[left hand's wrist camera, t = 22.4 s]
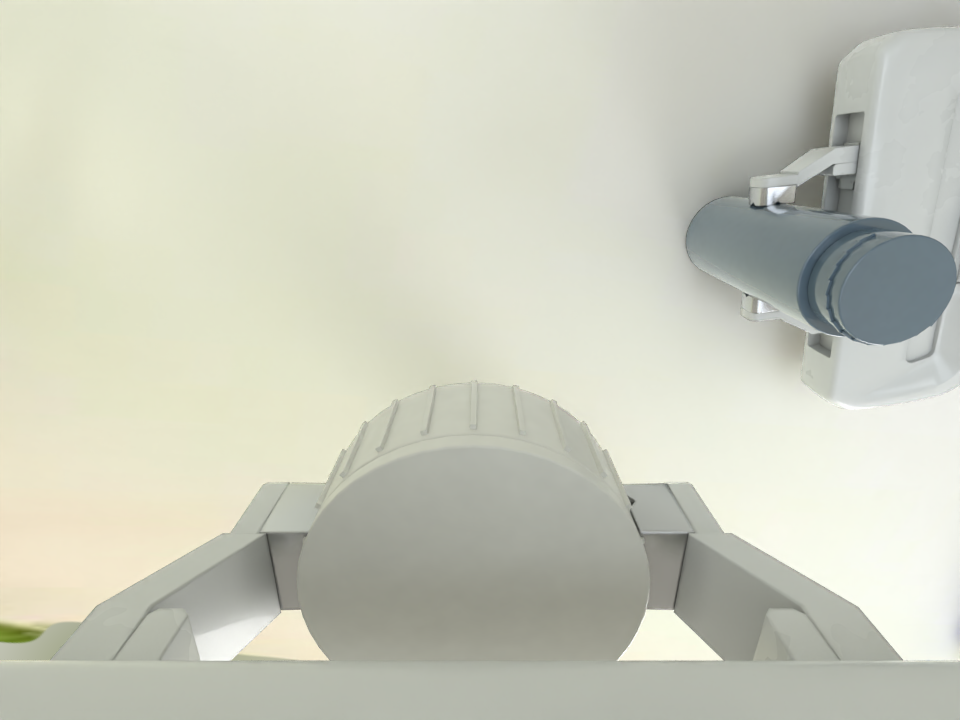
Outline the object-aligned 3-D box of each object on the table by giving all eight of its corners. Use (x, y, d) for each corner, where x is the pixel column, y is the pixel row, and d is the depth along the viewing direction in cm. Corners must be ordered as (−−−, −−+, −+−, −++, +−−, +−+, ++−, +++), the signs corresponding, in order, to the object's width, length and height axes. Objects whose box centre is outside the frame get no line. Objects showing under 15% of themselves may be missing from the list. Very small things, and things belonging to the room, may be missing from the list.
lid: (678, 487, 11) (731, 573, 8) (498, 654, 12) (502, 763, 10) (443, 316, 9) (431, 365, 7) (278, 530, 11) (226, 624, 9)
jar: (669, 250, 35) (799, 315, 20) (719, 180, 33) (900, 196, 18) (729, 288, 36) (894, 376, 21) (780, 222, 34) (999, 268, 19)
